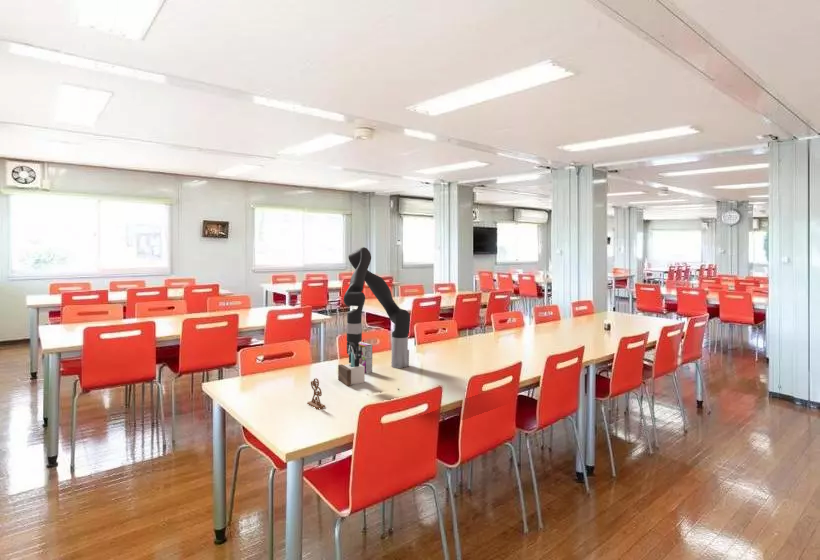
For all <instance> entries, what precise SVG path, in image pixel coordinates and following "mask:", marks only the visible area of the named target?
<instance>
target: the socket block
mask: <svg viewBox="0 0 820 560" xmlns="http://www.w3.org/2000/svg"><path fill="white" fill-rule="evenodd" d="M343 365H344V366H346V367H347V368H349V369H350V370H351V385H356V384H364V383H365V379H366V378H365V377H366V376H365V374H366V373H365V367H364V366H362V365H361V364H359V366H358V367H351V363H347V364H343Z"/></svg>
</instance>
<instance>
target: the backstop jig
mask: <svg viewBox="0 0 820 560" xmlns="http://www.w3.org/2000/svg"><path fill="white" fill-rule="evenodd" d="M344 365H345V364H342V363H340V364H338V366H337V369H338V371H337V375H338V376H337V378H338V379H337V380H338V381H339V382H340V383H342V384H343V385H345V387H352V384H351V370H350V369H349V368H347V367H346V366H344Z"/></svg>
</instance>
